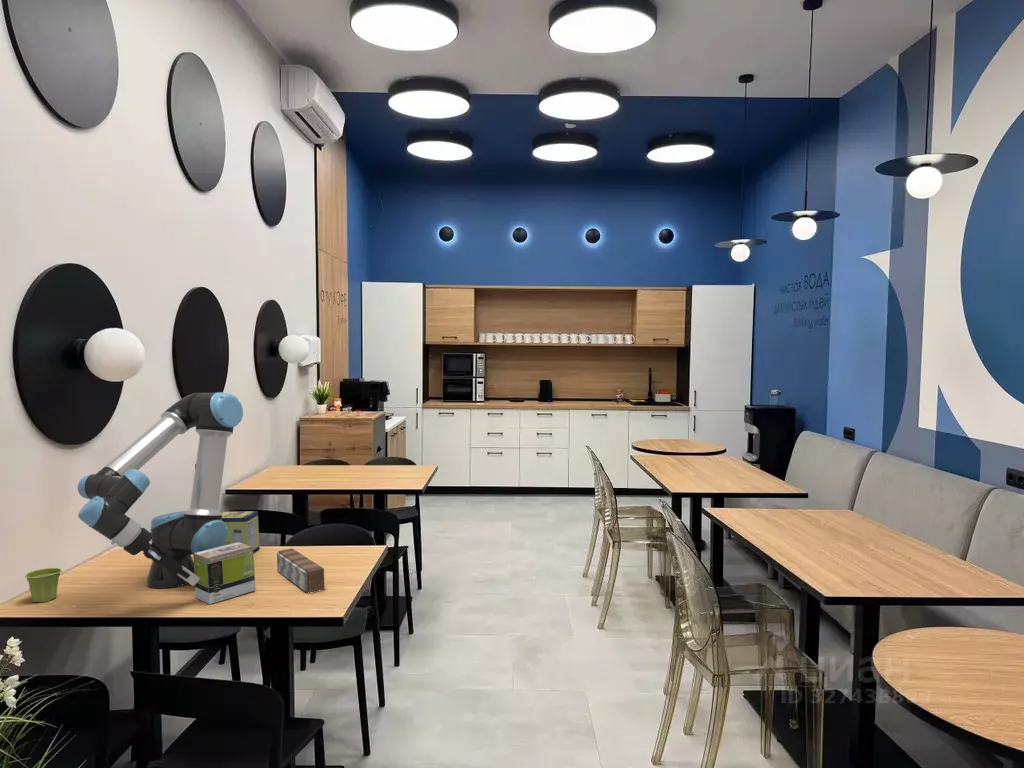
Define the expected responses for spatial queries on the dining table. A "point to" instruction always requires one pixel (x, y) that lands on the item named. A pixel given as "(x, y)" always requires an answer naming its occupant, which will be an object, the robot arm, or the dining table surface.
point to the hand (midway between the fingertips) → (196, 581)
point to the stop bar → (300, 570)
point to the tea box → (224, 572)
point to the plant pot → (43, 584)
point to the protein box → (242, 528)
